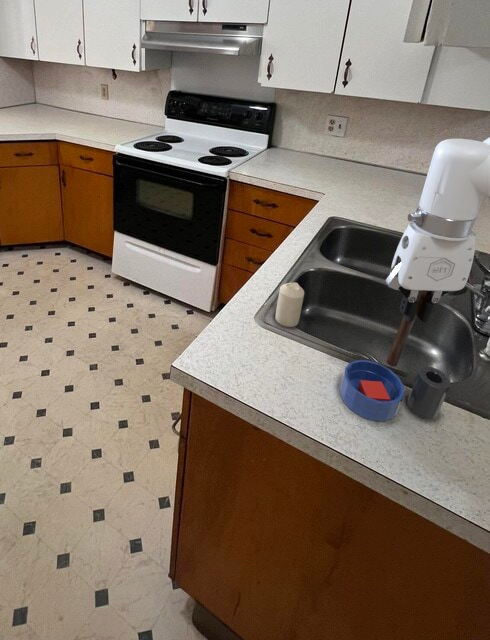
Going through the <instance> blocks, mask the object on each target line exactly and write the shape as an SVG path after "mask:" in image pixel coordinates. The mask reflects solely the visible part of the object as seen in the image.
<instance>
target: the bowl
mask: <svg viewBox="0 0 490 640" xmlns="http://www.w3.org/2000/svg"><path fill="white" fill-rule="evenodd" d="M360 380H363V381H379V382H382V383H383V385H384V387H385V389H386V391H387V393H388V395H389V397H390V401H378V400H375V399H372V398H369V397H367V396H365V395H364V394H362V393H360V392H359V391H358V386H359V383H360ZM339 392H340V395H341V398H342V401H343V402H344V404H345V405H346V406H347V408H348V409H350V411H352V412H353V413H354V414H356V415H358V416H360V417H361V418H363V419H366V420H369V421H371V422H387V421H389V420H391V419H393V418H395V417H396V416H397V414H398V412H399V410H400V408H401V405H402V402H403V401H404V398H405V397H404V396H405V385H404V383H403V382H402V380H401V379H400V377H399V376H398V375H397V374H396V373H395V372H394V371H393V370H392V369H390V368H389V367H387V366H385V365H383V364H381V363H379V362H376V361H372V360H368V359H357V360H353V361H350V362H349V363H348V364H346V366H345V367H344V371H343V375H342V378H341V381H340V389H339Z"/></svg>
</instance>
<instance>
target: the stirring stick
mask: <svg viewBox="0 0 490 640" xmlns="http://www.w3.org/2000/svg"><path fill="white" fill-rule="evenodd" d="M426 294H427V291H424V290H419V292H418V295H417V299H416V301H417V302H418V307H417V310H416V313H415V316H414V319H413V321H412V322H408V321H407V320H406V318H405V317H404V316H403V315H402V318H401V321H400V323H399V326H398V329H397V331H396V334H395V337H394V340H393V342H392V345H391V348H390V350H389V352H388V355H387V358H386V364H387V365H388V366H390V367H395V368H396V367H397V366H398V364H399V361H400V358H401V356H402V354H403V351H404V348H405V347H406V343H407V340H408V338H409V335H410V333H411V330H412V328H413V326H414V323H415V320H416V319H418V314H419V311H420V309H421V306H422V304H423V301H424V299H425V297H426Z"/></svg>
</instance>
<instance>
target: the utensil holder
mask: <svg viewBox="0 0 490 640" xmlns="http://www.w3.org/2000/svg"><path fill="white" fill-rule="evenodd" d="M450 387H451V379H450V378H449V377H448V376H447V374H446V373H444V372H443V371H441V370H440V369H438V368H435V367H433V366H421V367H420V368H418V370H417V373H416V376H415V379H414V381H413V384H412V387H411V389H410V391H409V395H408V398H407V402H406V404H407V407H408V409H409V410H410V411H411V412H412V414H414V415H415V416H417V417H419V418H422V419H424V420H435V419H436V418H437V416H438V415H439V412H440V411H441V409H442V406H443V404H444V402H445V399H446V397H447V395H448V392H449V390H450Z"/></svg>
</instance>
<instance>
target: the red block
mask: <svg viewBox="0 0 490 640" xmlns="http://www.w3.org/2000/svg"><path fill="white" fill-rule="evenodd" d="M358 391H359V392H360V393H362V394H364V395H365V396H367V397H369V398H372V399H375V400H378V401H390V397H389V395H388V393H387V391H386V389H385V387H384V385H383V383H382V382H379V381H363V380H360V383H359V386H358Z"/></svg>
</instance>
